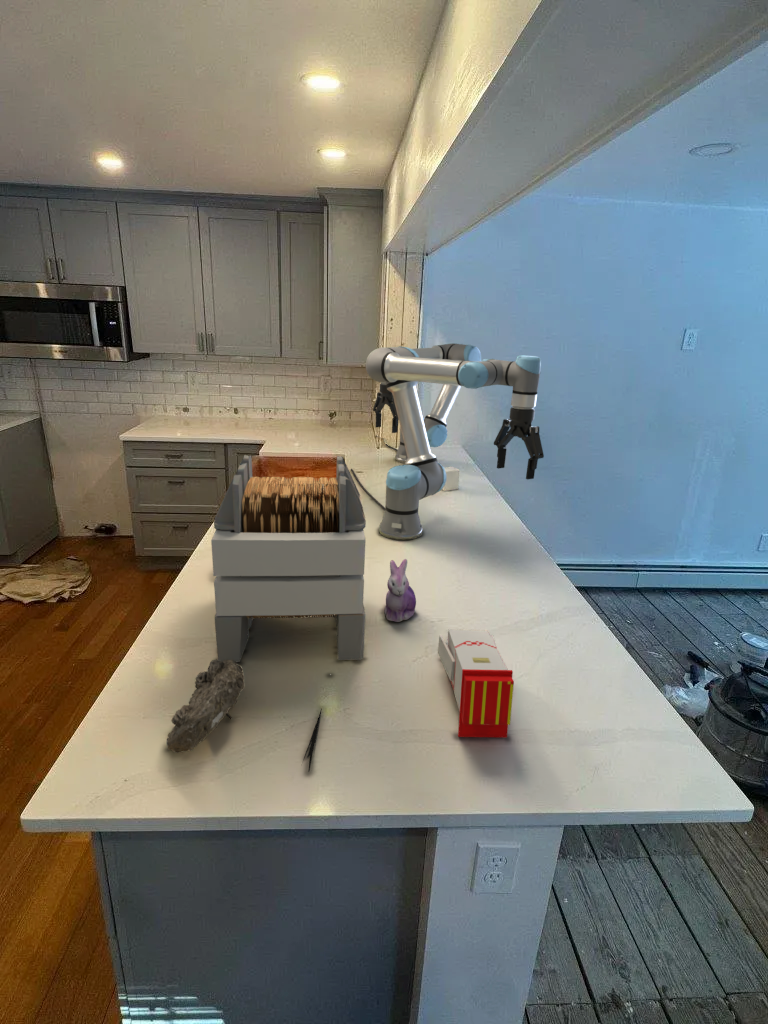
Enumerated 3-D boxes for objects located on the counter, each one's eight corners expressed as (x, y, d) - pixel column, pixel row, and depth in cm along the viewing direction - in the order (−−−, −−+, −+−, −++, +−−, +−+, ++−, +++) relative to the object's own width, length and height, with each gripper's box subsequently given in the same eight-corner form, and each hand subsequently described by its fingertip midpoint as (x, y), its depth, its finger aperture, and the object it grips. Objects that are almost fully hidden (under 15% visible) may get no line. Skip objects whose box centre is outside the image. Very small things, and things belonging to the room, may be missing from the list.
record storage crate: (236, 591, 155) (228, 445, 141) (355, 589, 159) (359, 447, 145) (214, 665, 123) (202, 486, 109) (364, 661, 127) (370, 487, 113)
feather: (331, 679, 122) (336, 673, 122) (307, 777, 96) (313, 769, 95) (324, 675, 122) (329, 669, 121) (298, 772, 95) (304, 764, 95)
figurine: (392, 627, 141) (395, 572, 136) (374, 608, 149) (376, 556, 144) (425, 619, 145) (429, 566, 140) (405, 601, 154) (408, 550, 149)
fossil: (192, 660, 117) (244, 628, 112) (224, 691, 120) (276, 661, 115) (142, 746, 98) (202, 712, 93) (182, 779, 101) (242, 748, 96)
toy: (488, 613, 130) (523, 677, 101) (484, 667, 133) (517, 744, 104) (435, 612, 130) (455, 676, 101) (432, 666, 133) (451, 743, 103)
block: (445, 491, 250) (446, 471, 247) (437, 487, 254) (438, 468, 251) (458, 489, 253) (459, 469, 250) (450, 485, 258) (451, 466, 255)
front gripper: (562, 413, 168) (551, 482, 175) (504, 400, 188) (497, 462, 195) (543, 415, 164) (534, 485, 171) (487, 401, 184) (480, 464, 191)
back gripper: (411, 386, 249) (408, 434, 257) (379, 379, 268) (378, 424, 276) (397, 387, 245) (395, 435, 253) (366, 380, 264) (365, 425, 272)
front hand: (514, 473), depth 183 cm, fingers open, 13 cm apart
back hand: (386, 429), depth 264 cm, fingers open, 13 cm apart
